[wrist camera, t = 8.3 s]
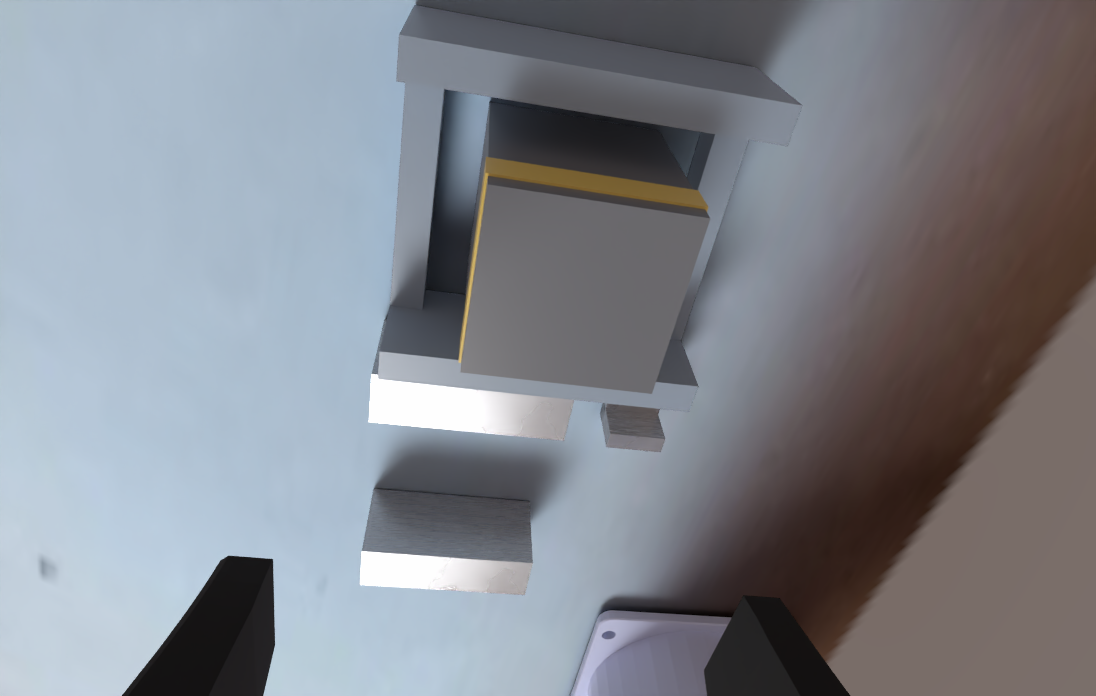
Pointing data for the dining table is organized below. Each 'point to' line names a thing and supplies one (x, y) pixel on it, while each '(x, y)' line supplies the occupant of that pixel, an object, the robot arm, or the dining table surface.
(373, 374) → the brushed metal block
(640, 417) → the clip
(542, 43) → the holder
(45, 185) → the dining table surface
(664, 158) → the block
